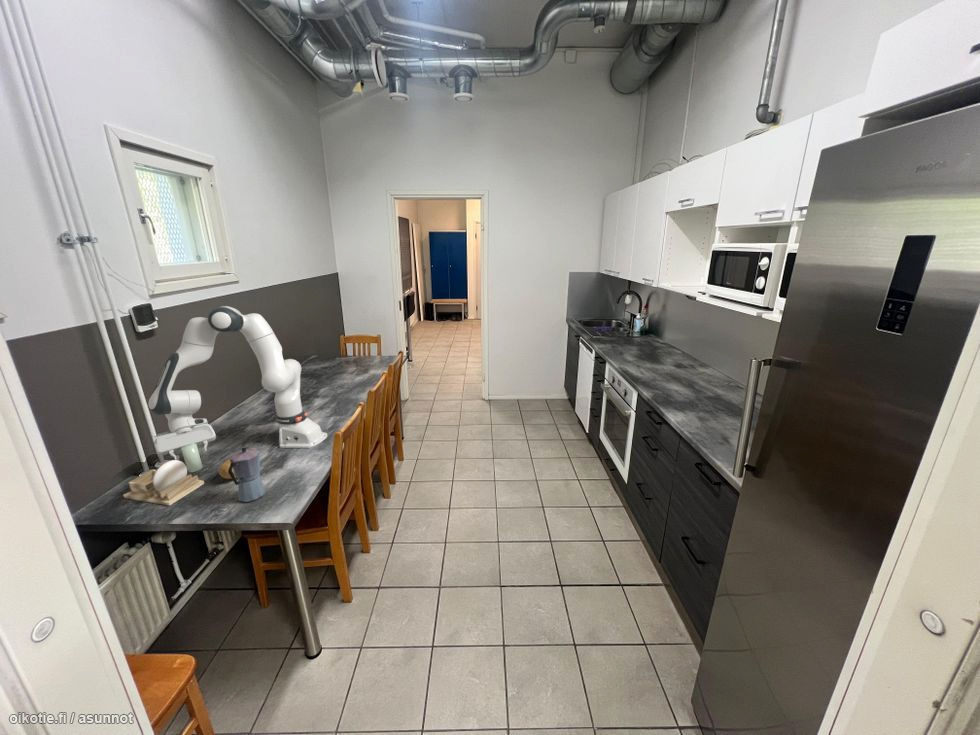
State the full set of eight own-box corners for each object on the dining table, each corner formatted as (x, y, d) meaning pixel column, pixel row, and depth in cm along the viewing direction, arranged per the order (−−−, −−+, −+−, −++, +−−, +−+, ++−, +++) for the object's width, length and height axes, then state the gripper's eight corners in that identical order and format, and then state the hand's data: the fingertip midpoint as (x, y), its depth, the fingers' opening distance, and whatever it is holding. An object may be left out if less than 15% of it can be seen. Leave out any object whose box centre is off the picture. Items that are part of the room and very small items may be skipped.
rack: (204, 483, 153) (196, 454, 149) (169, 505, 141) (159, 474, 136) (161, 476, 158) (152, 448, 154) (124, 497, 145) (113, 467, 141)
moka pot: (275, 483, 153) (265, 439, 146) (253, 509, 138) (242, 460, 132) (251, 484, 152) (240, 440, 146) (227, 510, 138) (214, 461, 131)
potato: (258, 464, 166) (254, 448, 164) (240, 483, 153) (236, 466, 150) (234, 466, 166) (230, 449, 163) (215, 485, 152) (210, 468, 150)
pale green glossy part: (205, 466, 166) (199, 443, 162) (194, 472, 161) (187, 449, 158) (196, 464, 167) (189, 442, 164) (184, 471, 162) (177, 448, 159)
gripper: (150, 432, 156) (158, 462, 153) (210, 417, 170) (219, 444, 166) (152, 438, 161) (161, 467, 157) (211, 423, 174) (219, 450, 170)
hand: (191, 455), depth 162 cm, fingers open, 8 cm apart
